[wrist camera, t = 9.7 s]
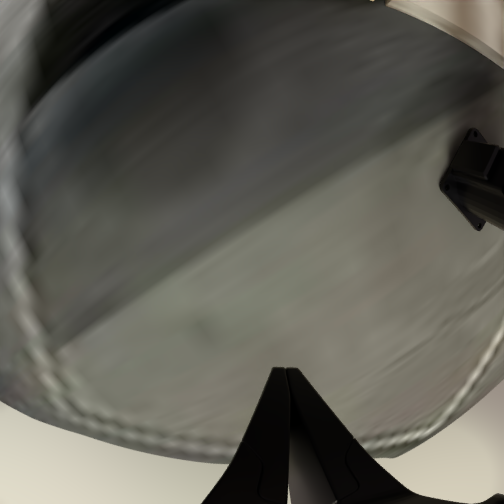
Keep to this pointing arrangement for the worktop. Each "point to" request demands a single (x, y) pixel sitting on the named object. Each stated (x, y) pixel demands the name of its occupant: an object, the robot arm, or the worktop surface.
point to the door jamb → (463, 21)
